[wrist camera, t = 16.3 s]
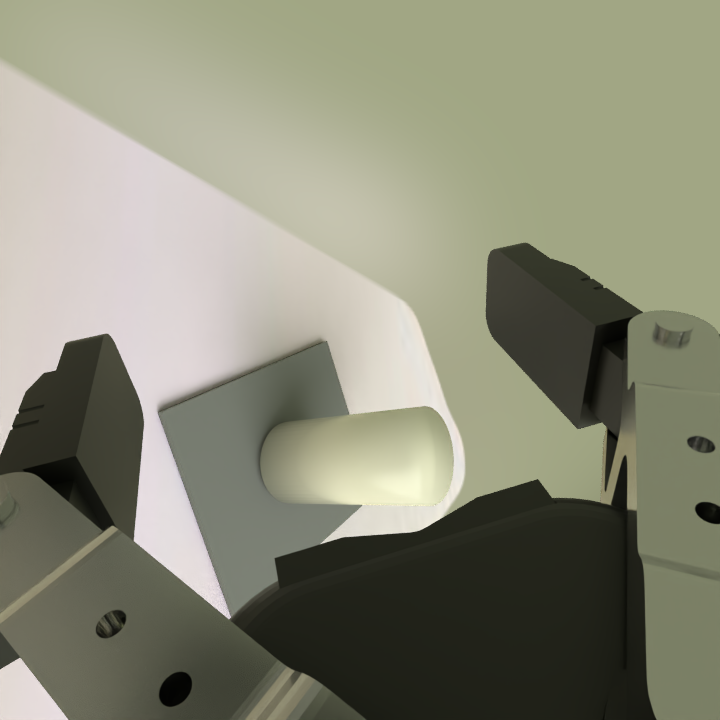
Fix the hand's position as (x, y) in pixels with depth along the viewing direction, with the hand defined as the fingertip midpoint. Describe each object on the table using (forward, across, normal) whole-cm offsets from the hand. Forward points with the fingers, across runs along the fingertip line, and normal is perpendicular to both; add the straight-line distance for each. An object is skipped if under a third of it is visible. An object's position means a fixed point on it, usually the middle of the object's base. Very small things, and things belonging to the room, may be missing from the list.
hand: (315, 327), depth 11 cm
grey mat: (+15, +2, +18) cm, 24 cm away
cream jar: (+15, +1, +18) cm, 23 cm away
